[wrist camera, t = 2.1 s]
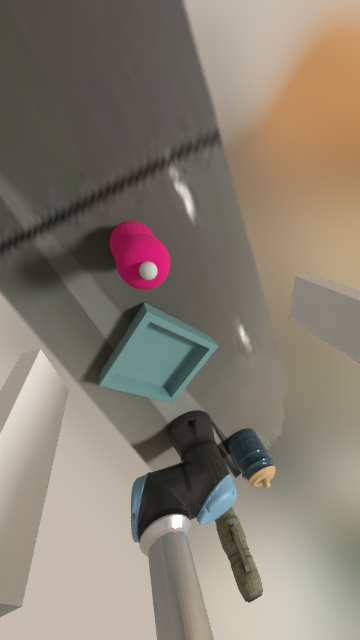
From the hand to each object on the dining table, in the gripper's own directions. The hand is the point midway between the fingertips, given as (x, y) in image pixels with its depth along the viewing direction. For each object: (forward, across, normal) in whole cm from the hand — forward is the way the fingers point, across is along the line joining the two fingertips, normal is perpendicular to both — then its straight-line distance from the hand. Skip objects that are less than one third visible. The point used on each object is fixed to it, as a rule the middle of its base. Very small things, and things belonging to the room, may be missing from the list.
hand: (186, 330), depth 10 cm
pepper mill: (+31, 0, 0) cm, 31 cm away
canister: (+31, -23, +84) cm, 92 cm away
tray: (+30, +1, +26) cm, 40 cm away
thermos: (+30, -6, +100) cm, 105 cm away
